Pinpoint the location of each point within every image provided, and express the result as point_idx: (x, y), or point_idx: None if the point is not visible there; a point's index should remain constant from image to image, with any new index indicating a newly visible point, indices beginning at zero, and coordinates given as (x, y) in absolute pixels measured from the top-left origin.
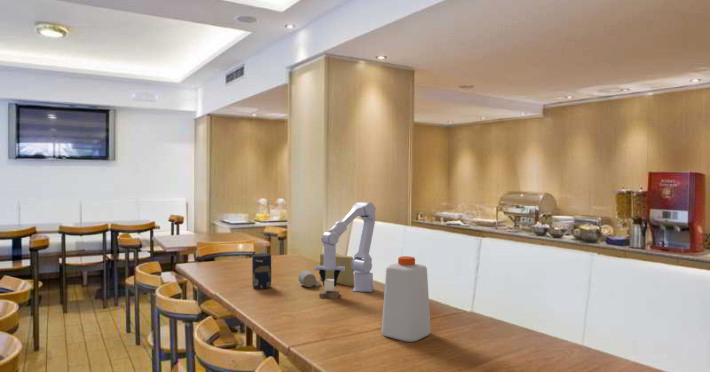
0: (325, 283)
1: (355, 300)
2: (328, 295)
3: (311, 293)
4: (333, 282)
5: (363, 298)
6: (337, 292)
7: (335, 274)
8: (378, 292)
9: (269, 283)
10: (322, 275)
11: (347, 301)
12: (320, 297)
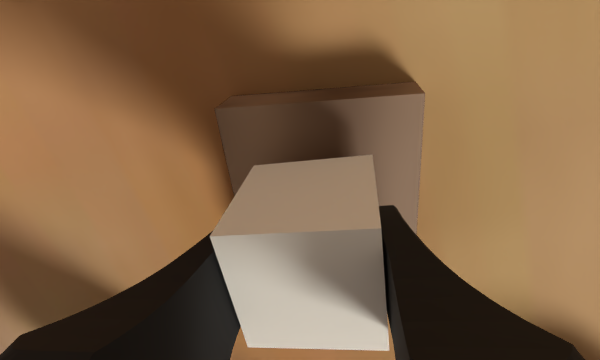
0: (357, 203)
1: (41, 78)
2: (307, 97)
3: (532, 231)
4: (223, 223)
5: (27, 160)
6: (232, 184)
7: (93, 328)
8: (44, 316)
9: None
10: (444, 311)
11: (81, 16)
12: (403, 83)
